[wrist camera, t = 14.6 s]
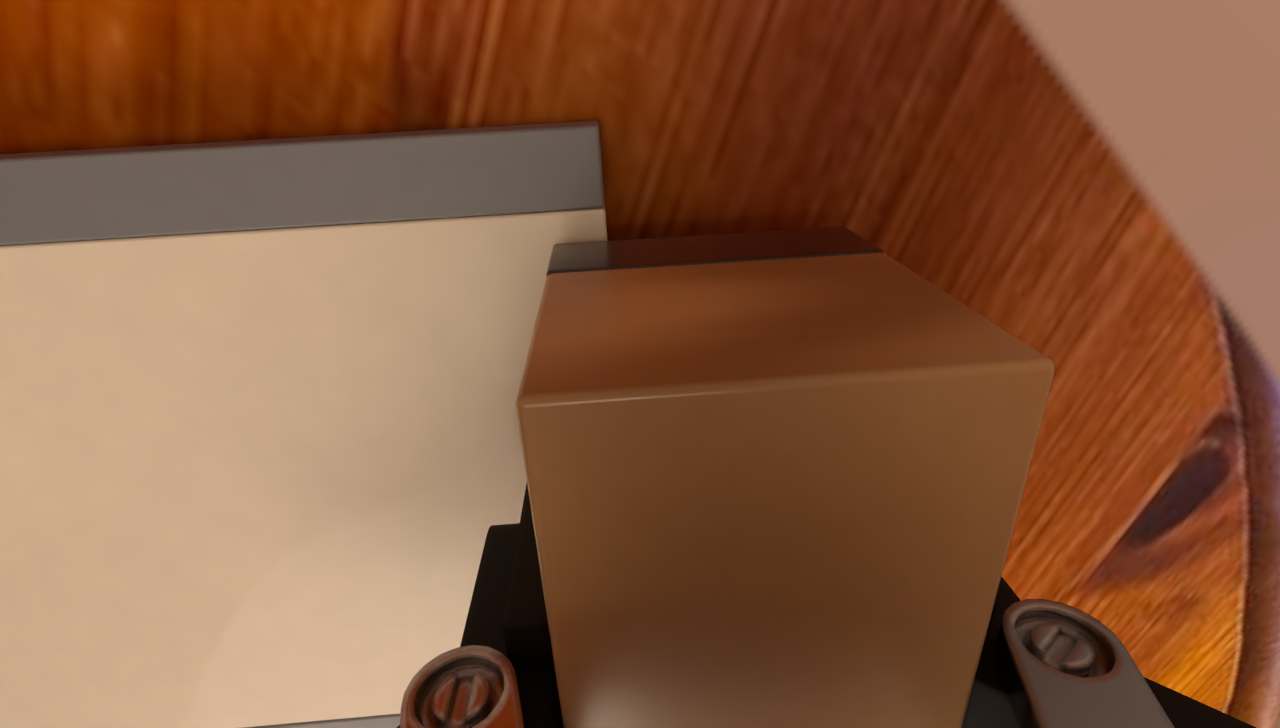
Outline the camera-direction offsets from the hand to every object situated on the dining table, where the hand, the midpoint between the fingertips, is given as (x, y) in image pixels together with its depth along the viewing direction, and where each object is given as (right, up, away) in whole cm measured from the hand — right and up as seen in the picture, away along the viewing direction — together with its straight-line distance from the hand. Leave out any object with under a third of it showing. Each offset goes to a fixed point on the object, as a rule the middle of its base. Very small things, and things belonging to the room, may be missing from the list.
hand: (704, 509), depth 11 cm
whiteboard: (-11, 0, +1) cm, 12 cm away
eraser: (0, 0, 0) cm, 0 cm away
